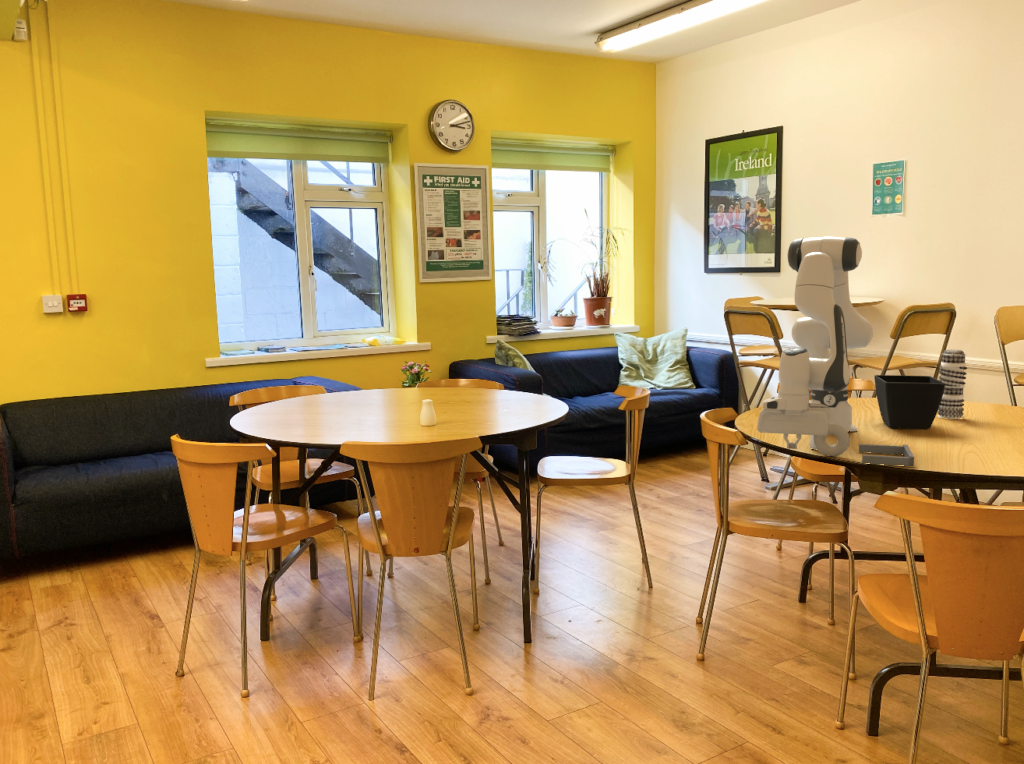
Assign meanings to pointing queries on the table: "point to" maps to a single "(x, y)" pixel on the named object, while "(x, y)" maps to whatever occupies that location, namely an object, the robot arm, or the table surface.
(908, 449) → the tray
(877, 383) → the flower pot
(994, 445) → the table surface
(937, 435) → the table surface
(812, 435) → the salt shaker
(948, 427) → the table surface
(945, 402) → the decorative candle
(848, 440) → the donut
